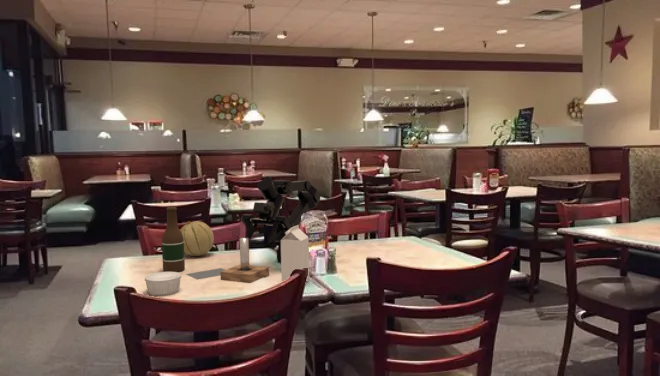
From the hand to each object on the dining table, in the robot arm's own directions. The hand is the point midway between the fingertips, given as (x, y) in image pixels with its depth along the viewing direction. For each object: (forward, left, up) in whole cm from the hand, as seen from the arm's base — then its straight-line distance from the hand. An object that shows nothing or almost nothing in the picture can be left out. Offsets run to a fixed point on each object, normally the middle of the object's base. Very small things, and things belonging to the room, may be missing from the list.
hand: (257, 241), depth 194 cm
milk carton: (-14, +16, -12) cm, 24 cm away
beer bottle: (+31, -5, -12) cm, 34 cm away
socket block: (+4, +7, -11) cm, 14 cm away
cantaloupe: (+28, -32, -12) cm, 44 cm away
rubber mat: (+17, +1, -11) cm, 21 cm away
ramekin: (+28, +22, -12) cm, 38 cm away
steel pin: (+4, +7, -11) cm, 14 cm away
